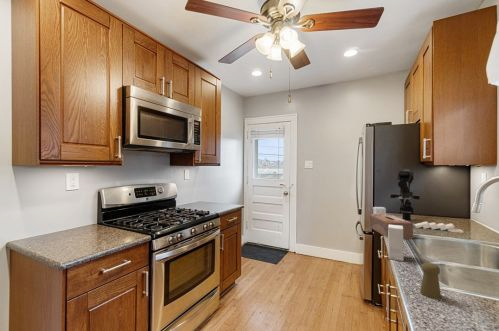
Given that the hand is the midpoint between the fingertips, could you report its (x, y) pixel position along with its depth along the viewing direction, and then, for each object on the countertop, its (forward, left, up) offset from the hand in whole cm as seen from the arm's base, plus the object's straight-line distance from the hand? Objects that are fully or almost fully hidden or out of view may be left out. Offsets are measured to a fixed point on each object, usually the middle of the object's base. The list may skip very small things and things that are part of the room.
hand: (404, 207), depth 181 cm
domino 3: (+8, +20, -11) cm, 24 cm away
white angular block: (+8, +6, -11) cm, 15 cm away
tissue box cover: (+28, -12, -14) cm, 33 cm away
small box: (-8, -16, -13) cm, 22 cm away
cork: (+109, -7, -13) cm, 110 cm away
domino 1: (+8, +10, -11) cm, 17 cm away
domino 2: (+8, +15, -11) cm, 20 cm away
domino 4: (+8, +24, -11) cm, 28 cm away
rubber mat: (+8, +12, -13) cm, 19 cm away
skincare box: (+75, -14, -13) cm, 78 cm away
